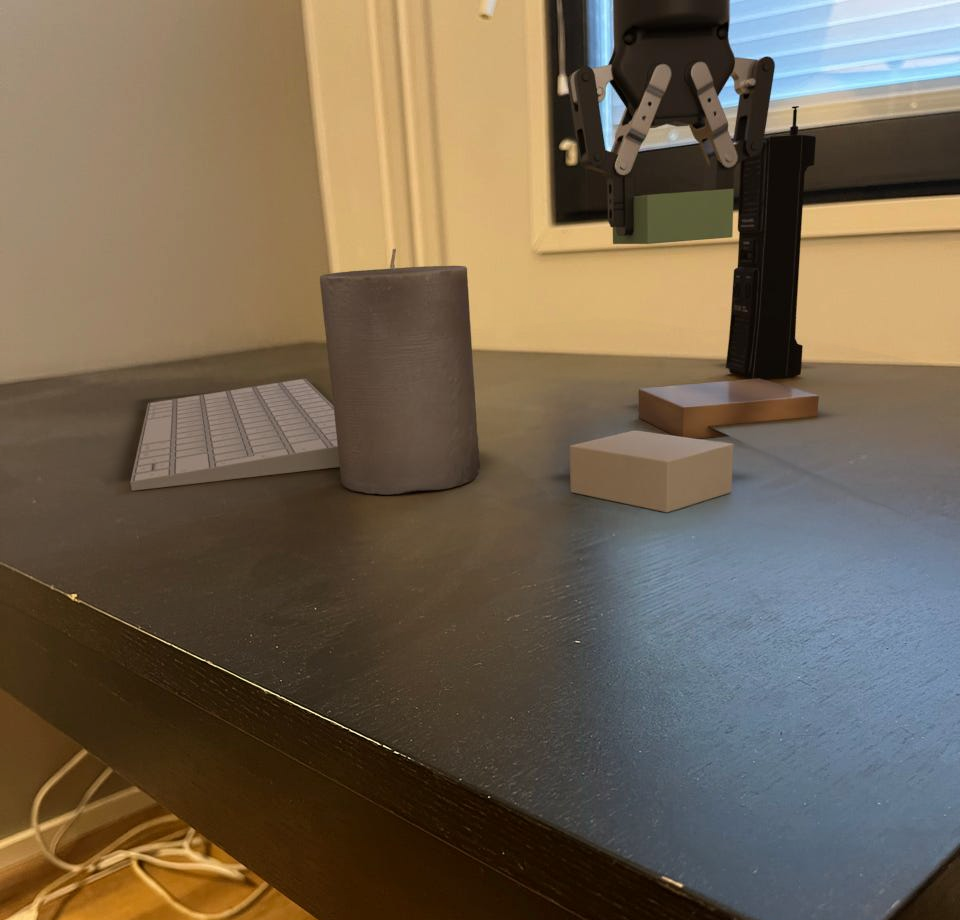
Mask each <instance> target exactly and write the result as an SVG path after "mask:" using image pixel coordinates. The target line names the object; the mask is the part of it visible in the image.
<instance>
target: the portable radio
mask: <svg viewBox="0 0 960 920" xmlns="http://www.w3.org/2000/svg"><path fill="white" fill-rule="evenodd" d="M799 108H800V106H799V105H795V106H794V105H793V106H791V109H793V110H792V126H791V127H789V134H783V135H768V136H764V141H763V147H762V150H761V152H760V153H759V154H758V155H756V156H751V157H749V158H747V159H745V160H743V161H741V162H739V165H740V167H739V187H738V188H739V189H738V190H739V191H738V211H737V212H738V213H737V231H738V236H739V237H738V253H737V267H736V268H734V269H733V278H732V279H733V280H732V294H731V307H730V308H731V309H730V323H729V334H728V342H727V343H728V345H727V352H726V353H727V354H726V362H725V368H726V369H728V372H729V373H730V374H733V375H736V376H738V377H741V378H744V379H757V378H759V379H763V380H771V379H772V380H773V379H774V380H775V379H786V378H792V377H793V378H794V377H797V376H800V375H802V366H803V365H802V363H803V347H804V345H803V344H799V343H798V342H797V340H796V339H797V338H796V331H797V308H798V293H799V278H800V277H799V276H800V275H799V274H800V260H801V259H800V258H801V240H802V223H803V209H804V191H805V190H804V189H805V175H806V171H807V170H808V168H809V167H813V166H815V157H816V142H817V136H815V135H812V134H799V126H798V125H797V117H798V116H797V115H798V109H799Z"/></svg>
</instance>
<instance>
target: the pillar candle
mask: <svg viewBox="0 0 960 920" xmlns="http://www.w3.org/2000/svg"><path fill="white" fill-rule="evenodd" d="M396 252H397V249H396V248H393V249H392V253H391V257H390V258H391V259H390V264H389V268H382V269H381V268H377V269H365V270H364V269H363V270H349V271H340V272H333V273H332V272H331V273H326V274H322V275H320V276H319V286H320V294H321V304H322V313H323V314H322V315H323V323H324V330H325V341H326V351H327V358H328V359H327V360H328V368H329V377H330V385H331V386H330V388H331V395H332V405H333V406H334V415H335V425H336V434H337V445H338V453H339V464H340V467H339V471H340V479H341V485H342V486H343V487H344V488H345V489H347V490H350V491H353V492H358V493H364V494H370V495H371V494H372V495H376V494H377V495H385V496H386V495H387V496H388V495H389V496H390V495H401V494H407V493H414V492H426V491H427V492H428V491H429V492H430V491H441V490H448V489H453V488H455V487H460V486H463V485H465V484H468V483H470V482H472V481H473V480H474V479H477V476H478V475H479V470H480V468H481V462H480V449H479V435H478V423H477V422H478V421H477V408H476V406H477V405H476V404H477V403H476V389H475V377H474V376H475V375H474V362H473V361H474V359H473V345H472V343H473V342H472V329H471V326H472V325H471V316H470V314H471V312H470V298H469V297H470V296H469V280H468V279H469V278H468V267H466V266H465V265H433V266H431V265H430V266H429V265H428V266H425V265H424V266H409V267H407V266H406V267H396V265H395V260H396Z"/></svg>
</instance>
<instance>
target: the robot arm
mask: <svg viewBox="0 0 960 920" xmlns="http://www.w3.org/2000/svg"><path fill="white" fill-rule="evenodd" d="M612 21H613V25H612V26H613V28H612V29H613V50H612V54H611V57H610V59H609V62H608V63H607V64H606V65H602V66H596V67H590V66H588V65H586V66H582V67H580V68H579V69H577V70H575V71H574V72H572V73H570V75H569V76H568V78H567V88H568V94H569V95H568V96H569V102H570V107H571V114H572V120H573V127H574V131H575V132H574V133H575V140H576V147H577V152H578V159H579V160H578V161H579V163H580V166H581V167H582V168H583V169H586V170H592V171H594V172H598V173H600V174H602V175H603V176H604V178H605V179H606V184H607V185H606V188H607V190H606V191H607V192H606V193H607V195H606V196H607V222H608V224H609V227H610V228H613V227H616V233H617V235H618V236H627V235H633V232H634V197H636V196H635V195H636V194H635V191H636V190H635V189H636V188H635V187H636V186H635V176H634V175H632V176H631V171H632V169H633V166H634V163H635V162H636V159H637V156H638V153H639V151H640V149H641V147H642V144H643V143H644V141H645V140H646V138H647V136H648V135H649V134H648V133H649V132H650V129H655V128H659V127H663V126H666V125H669V126H673V127H676V128H677V127H689V128H690V131H691V133H692V136H693V138H694V139H695V140H696V142H698V144H699V146H700V148H701V151H702V153H703V156H704V157H705V160H706V164H707V165H708V168H709V171H706V172H704V191H709V190H722V189H734V180H735V179H734V177H735V176H734V175H735V169H736V167H737V166H738V164H740V162H741V161H743V160H745V159H747V158H749V157H751V156H756V155H758V154H759V153H760V152H761V150H762V147H763V141H764V137H765V134H766V128H767V121H768V114H769V107H770V102H771V95H772V88H773V82H774V75H775V69H776V63H775V60H774V59H773V58H772V57H771V56H763V57H760V58H759V57H758V58H756V59H754V58H747V57H746V58H745V57H738V56H737V57H736V56H735V54H734V53H735V52H734V50H733V49H732V47H731V43H730V39H729V32H730V31H729V30H730V21H731V0H612ZM730 77H731V78H732V80H733V88H734V91H735V93H736V94H737V95H738V96H739V98H738V103H737V112H736V118H735V126H734V132H733V139H732V137H731V134H730V132H729V121H728V118H727V116H726V114H725V111H724V109H723V106H722V104H721V101H720V99H719V95H720V94H721V92H722V91H723V89H724V87H725V86H726V84H727V82H728V81H729V80H730ZM608 84H610V86H611V87H612V89H613V90H614V91H615V93H616V94H617V96H618V97H619V99H620V100H621V103H623V105H624V106H625V108H624V111H623V113H622V116H621V119H620V121H619V124H618V127H617V129H616V131H615V135H614V142H613V144H612V146H611V150H610V151H609V150H607V149H606V143H605V136H604V129H603V124H602V117H601V108H600V103H602V102H603V101H604V99H605V97H606V91H607V86H608Z"/></svg>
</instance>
